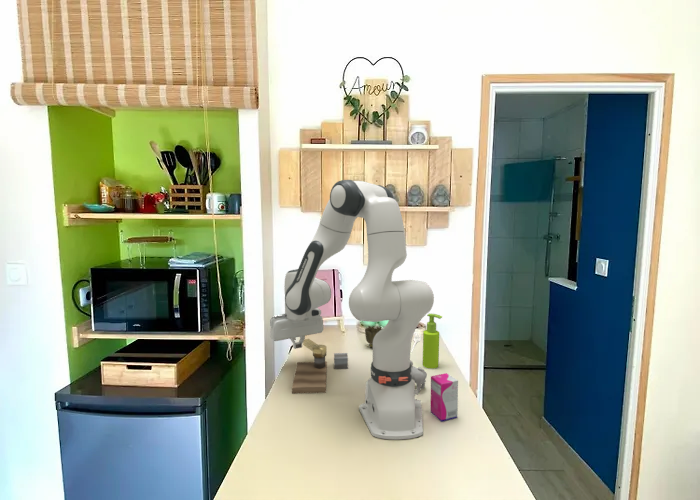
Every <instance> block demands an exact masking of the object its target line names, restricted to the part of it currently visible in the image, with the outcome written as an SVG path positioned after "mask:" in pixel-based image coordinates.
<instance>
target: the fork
mask: <svg viewBox="0 0 700 500" xmlns="http://www.w3.org/2000/svg"><path fill="white" fill-rule="evenodd" d="M414 334H415V335H414V336H413V341H414V343H413V345H412V346H411V351H410V354H413V351H414V349H415V348H416V346H417V343H418V342H420V341H421V340H422V334H421V333H414Z"/></svg>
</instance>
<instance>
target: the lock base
mask: <svg viewBox="0 0 700 500" xmlns="http://www.w3.org/2000/svg"><path fill="white" fill-rule="evenodd" d="M348 359H349V357H348V353H347V352H336V353H335V352H334V353H333V361H334V363H333V365H334V367H333V369H334V370H339V369H340V370H343V369H345V370H346V369H349V362H348V361H349V360H348ZM313 360H314V361H297V362H296V367H295V371H294V375H293V380H292V386H291V394H316V393H317V394H321V393H322V394H325V393H326V394H327V373H328V372H327V371H328V370H327V368H328V362H327V361H326V356H325V357H322V358H316V357H314V356H313Z"/></svg>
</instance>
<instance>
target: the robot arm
mask: <svg viewBox="0 0 700 500" xmlns="http://www.w3.org/2000/svg"><path fill="white" fill-rule="evenodd" d="M401 212H402V211H401V208H400V206H399V203H398V201H397V200H396V199H394V196H393V193H392V192H391V191H390V189H388V188H387V187H385V186H384V185H380V184H375V183H370V182H367V181H362V180H352V179H343V180H338V181H336V182H335V183H334V185H333V186H332V188H331V189H330V193H329V199H328V201H327V203H326V205H325V207H324V210H323V212H322V216H321V218H320V222H319V224H318V228H317V229H316V232H315V234H314V236H313V238H312V240H311V241H310V243H309V244H308V246H307V248H306V250H305V252H304V254H303V257H302V258H301V261H300V264H299V266H298V268H295V269H291V270H288V271H287V272H286V274H285V277H284V284H283V285H284V287H283V288H284V289H283V290H284V313H282V314H275V315H273V316H272V317H271V318H270V319H269V326H270V333H269V336H270V338H271V340H273V342H278V341H284V340H290V341H291V342H292V346H293V349H295V350H296V349H300V348H303V341H304V340H305V339H306V337H307V336H310V335H316V334H321V333H323V331H324V329H325V328H324V319H323V317H322V310H321V309H320V308H319V307H322V306H324V305H326V304H328V303H329V302H330V300H331V298H332V289H331V286H330V284H329V283H328V282H327V281H325V280H324V279H320V278H317V277H316V276H317V274H318V271H319V269H320V267H321V266H322V264H324V263H325V262H326V261H327V260H328V259H330V258H331V257H333V256H334V255H336V254H338V253H340V252H341V251H342V250H343V249H345V247H346V245H347V244H348V243H349V240H350V237H351V234H352V231H353V228H354V223H355V222H356V219H357V218H361V219H364V222H365V225H366V227H365V228H366V238H367V239H366V241H367V255H368V256H367V265H366V266H367V267H366V269H365V272H364V275H363V277H362V279H361V280H360V281H359V283H358V284H357V285H356V286H355V287H354V288H353V289H352V290H351V292H350V295H349V297H348V307H349V308H348V309H349V311H350V313H351V315H352V316H353V317H354V318H355V319H356V320H357V321H361V322H369V323H371V322H372V323H375V322H376V323H377V322H382V321H383V322H385V321H387V323H386V324H385V326H384V327H383V328H381V329H382V330H380V331H379V332H378V333H377V334H376V335H375V337H374V339H373V348H372V361H371V364H370V377H369V379H368V380H367V381H366V382H365V394H364V395H365V398H364V399H365V400H364V402H363V403H361V404H360V405H359V407H358V410H359V412H360V415H361V416H362V418H363V420H364V422H365V424H366V427H367V428H368V430H369V432H370V434H371V435H372V436H373V437H375V438H378V439H384V440H408V439H410V440H411V439H414V438H417V437H421V436H423V435H424V423H423V421H424V420H423V407H422V406H423V405H422V402H421V401H422V400H421V399H416V397H415V395H418V394H419V393H418V390H417V389H415V388H416V387H415V386H416V383H415V381H414V380H413V379H412V368H411V364H410V360H411V353H410V352H411V349H412V339H413V338H414V334H415V331H416V329H417V327H418V325H419V323H420V322H421V321H422V319H423V318H424V317H425V316H426V315H428V314H429V313H430V311H431V310H432V308H433V306H434V302H435V301H434V298H435V297H434V292H433V290H432V288H431V286H430V285H429V284H428V283H427V282H425V281H422V280H413V279H405V280H397V281H396V280H394V281H393V280H392V278H393V274H394V271H395V270H396V269H398V268H399V267H401V266H402V265H403V264H404V262H405V261H406V259H407V255H408V254H407V246H406V245H407V244H406V243H407V242H406V237H405V236H406V235H405V233H406V232H405V225H404V220H403V216H402V213H401ZM297 338H299V341H297V342H296V339H297Z"/></svg>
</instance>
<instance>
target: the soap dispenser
mask: <svg viewBox="0 0 700 500" xmlns="http://www.w3.org/2000/svg"><path fill="white" fill-rule="evenodd" d="M426 315H427V317H428V319H429V321H427V322H426V329H425V330H423V331H422V333H423V334H422V335H423V337H422V338H423V339H422V366H423V367H424V368H426V369H432V370H434V369H438V368H439V363H440V362H439V358H440V357H439V355H440V353H439V352H440V331H438V330H437V322H435V318H437V319H439V320H441V319H443V315H440V314H436V313H427V314H426Z"/></svg>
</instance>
